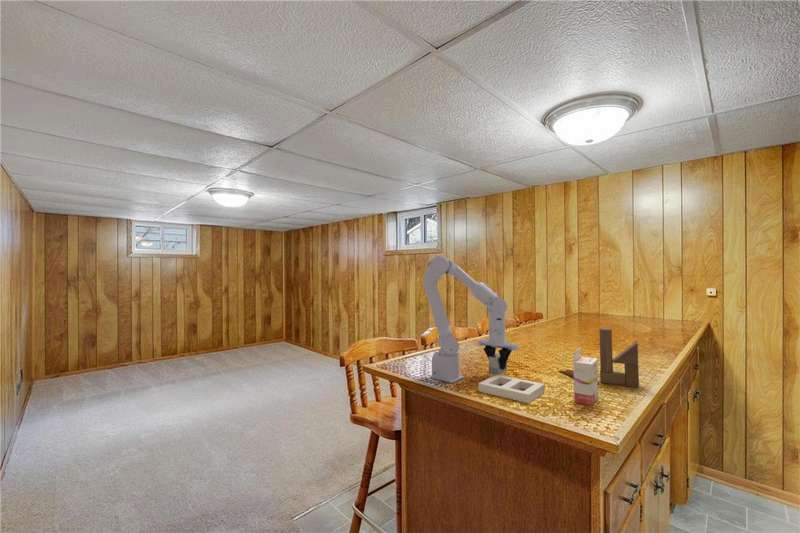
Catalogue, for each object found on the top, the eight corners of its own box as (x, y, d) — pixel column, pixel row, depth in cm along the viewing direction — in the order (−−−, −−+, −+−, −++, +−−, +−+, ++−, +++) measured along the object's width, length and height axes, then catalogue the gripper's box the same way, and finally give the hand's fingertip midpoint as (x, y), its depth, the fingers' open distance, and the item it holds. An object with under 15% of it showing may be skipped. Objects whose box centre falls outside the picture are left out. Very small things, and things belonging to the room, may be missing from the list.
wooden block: (639, 387, 112) (637, 331, 112) (600, 383, 117) (598, 329, 117) (637, 384, 115) (636, 329, 115) (600, 380, 120) (598, 327, 120)
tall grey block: (488, 373, 124) (488, 356, 125) (498, 369, 130) (497, 352, 130) (497, 375, 122) (497, 358, 122) (507, 370, 127) (506, 354, 127)
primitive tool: (557, 372, 132) (556, 362, 132) (570, 371, 132) (570, 362, 132) (589, 389, 112) (589, 378, 112) (605, 389, 113) (605, 378, 113)
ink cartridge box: (593, 406, 98) (591, 353, 98) (573, 402, 101) (572, 351, 101) (599, 397, 104) (597, 348, 104) (580, 394, 107) (579, 346, 108)
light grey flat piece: (478, 391, 112) (478, 383, 112) (496, 381, 121) (496, 374, 121) (528, 403, 101) (528, 394, 101) (544, 392, 110) (544, 384, 110)
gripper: (521, 330, 124) (522, 369, 124) (484, 326, 134) (485, 362, 134) (512, 333, 119) (513, 373, 119) (474, 329, 129) (475, 366, 128)
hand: (497, 368), depth 126 cm, fingers closed on tall grey block, 3 cm apart
